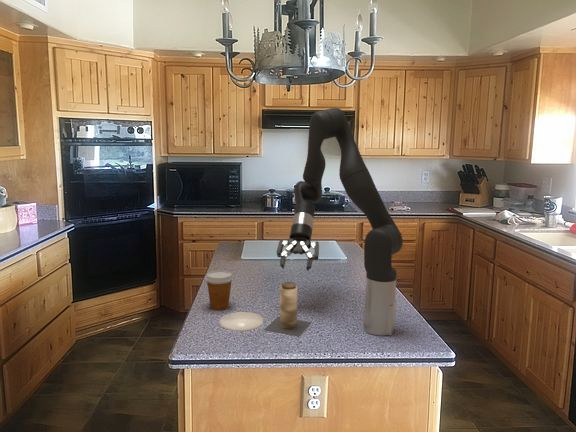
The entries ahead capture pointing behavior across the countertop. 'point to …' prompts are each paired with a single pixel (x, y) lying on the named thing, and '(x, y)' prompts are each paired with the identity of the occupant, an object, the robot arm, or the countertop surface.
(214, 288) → the disposable coffee cup
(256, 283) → the countertop surface
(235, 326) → the plate
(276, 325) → the mat
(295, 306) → the pepper mill
